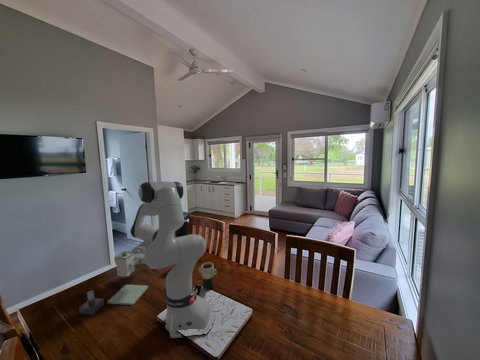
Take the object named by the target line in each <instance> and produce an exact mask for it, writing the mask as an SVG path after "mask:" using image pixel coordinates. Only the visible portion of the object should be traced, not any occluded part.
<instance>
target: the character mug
mask: <svg viewBox="0 0 480 360" xmlns="http://www.w3.org/2000/svg"><path fill="white" fill-rule="evenodd" d="M198 273H199V274H201V277H202V288H203V287H204V288H206V289H205V290H210V289H212V288H213V287H214V286H215V284H214V278H213V277H214V276H217V275H218V272H217V269H216V268H215V266H214V263H213V262H211V261H208V262H207V261H206V262H204V263H202V264H201V267H198ZM204 288H203V289H204Z"/></svg>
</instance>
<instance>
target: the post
mask: <svg viewBox="0 0 480 360" xmlns="http://www.w3.org/2000/svg"><path fill="white" fill-rule="evenodd" d="M86 295H87V296H86V297H87V301H86V302H84V303H83V304H82V305H81V306H80V307H78V309H79V314H80V315H91V316H93V315H94V314H95V313H97V312H98V311H99V310H100V309H101V307H103V306H104V305H105V299H104V298H98V297H95V292H94V290H89V291H87V292H86Z"/></svg>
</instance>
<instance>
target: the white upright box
mask: <svg viewBox="0 0 480 360" xmlns="http://www.w3.org/2000/svg"><path fill="white" fill-rule="evenodd" d="M121 253H122V252H121ZM131 262H134V257H133V253H122V254H121V255H119V256H118V257H117V258H116V263H115V264H116V273H117V277H129V276H130V275H132V274H133V272H135V270H136V269H135V265H134V266H133V267H130V265H129V264H130V263H131Z"/></svg>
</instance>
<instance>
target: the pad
mask: <svg viewBox="0 0 480 360" xmlns="http://www.w3.org/2000/svg"><path fill="white" fill-rule="evenodd" d="M148 288H149V285H141V284H124V285H123V286H122V287H121V288H120V289H119V290H118V291H117V292H116V293H115V294H114V295H113V296H112V297H111V298H109V300H107V304H109V305H126V306H127V305H129V306H133V305H134V304H135V303H136V302H137V301H138V300H139V298H140V297H141V296H142V295H143V294H144V292H146V290H147V289H148Z"/></svg>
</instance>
